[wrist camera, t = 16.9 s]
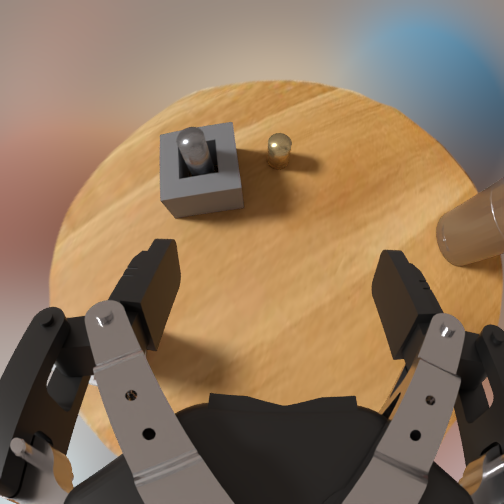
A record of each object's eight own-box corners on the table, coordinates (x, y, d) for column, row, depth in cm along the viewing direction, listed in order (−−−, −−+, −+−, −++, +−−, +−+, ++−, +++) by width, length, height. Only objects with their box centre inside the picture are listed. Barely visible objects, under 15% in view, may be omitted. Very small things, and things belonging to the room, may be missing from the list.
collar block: (235, 148, 43) (232, 121, 37) (244, 207, 41) (241, 187, 35) (172, 158, 43) (160, 134, 36) (175, 218, 41) (160, 200, 34)
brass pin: (286, 150, 43) (289, 132, 38) (290, 168, 43) (293, 151, 38) (265, 152, 43) (266, 134, 38) (269, 170, 43) (270, 153, 38)
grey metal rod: (216, 171, 43) (203, 124, 31) (218, 190, 42) (205, 147, 30) (195, 174, 43) (176, 129, 31) (197, 193, 42) (176, 152, 30)
